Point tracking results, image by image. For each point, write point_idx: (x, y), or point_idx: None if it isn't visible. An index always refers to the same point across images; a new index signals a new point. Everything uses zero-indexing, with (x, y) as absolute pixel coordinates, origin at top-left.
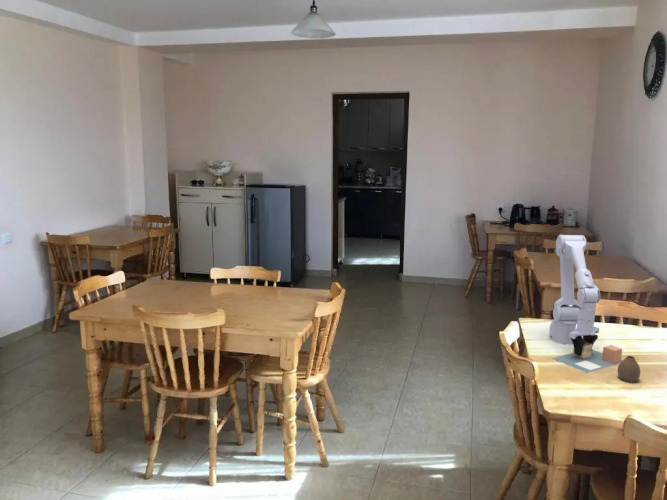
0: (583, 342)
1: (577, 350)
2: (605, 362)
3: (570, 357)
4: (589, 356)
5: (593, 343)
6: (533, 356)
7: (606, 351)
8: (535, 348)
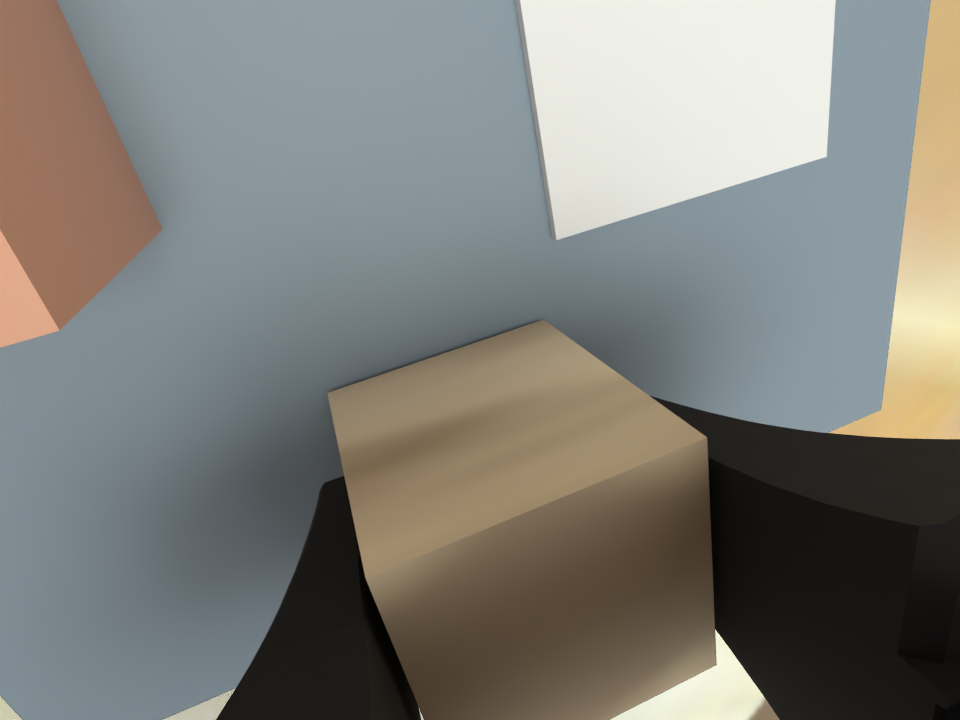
0: (894, 474)
1: None
2: (185, 49)
3: None
4: (381, 382)
5: (271, 646)
6: None
7: (29, 146)
8: (730, 700)
